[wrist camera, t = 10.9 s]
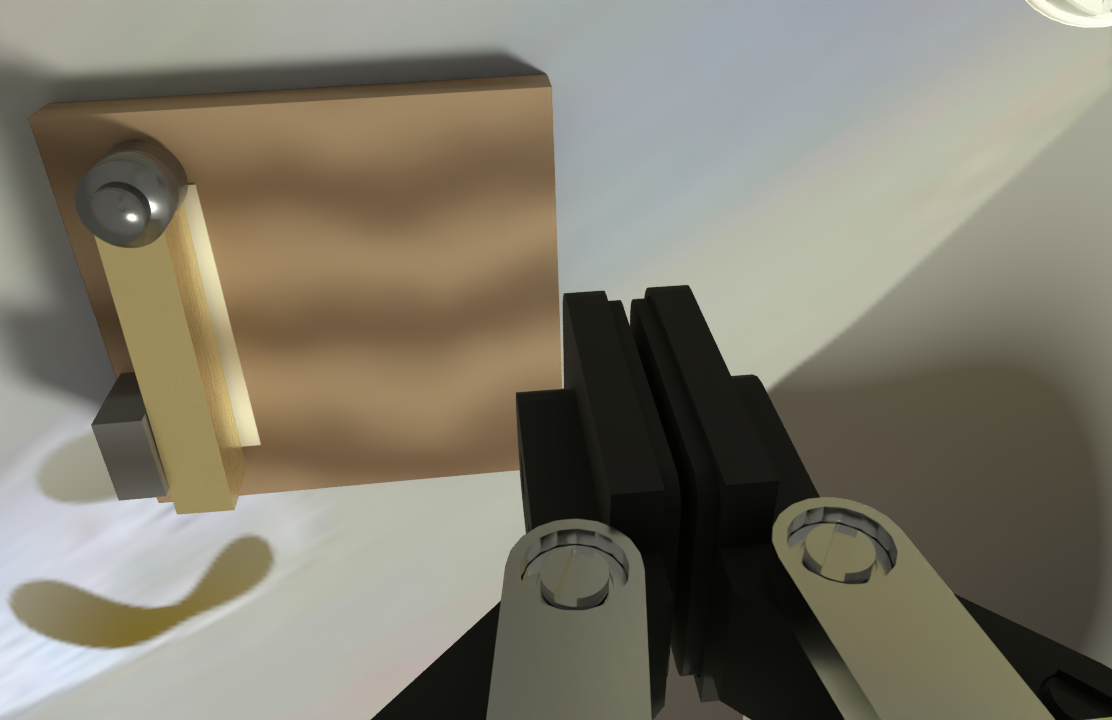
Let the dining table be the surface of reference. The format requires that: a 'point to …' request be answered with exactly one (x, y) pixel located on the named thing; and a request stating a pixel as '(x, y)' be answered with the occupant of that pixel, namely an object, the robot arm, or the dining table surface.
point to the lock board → (344, 272)
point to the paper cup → (1076, 11)
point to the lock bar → (165, 319)
